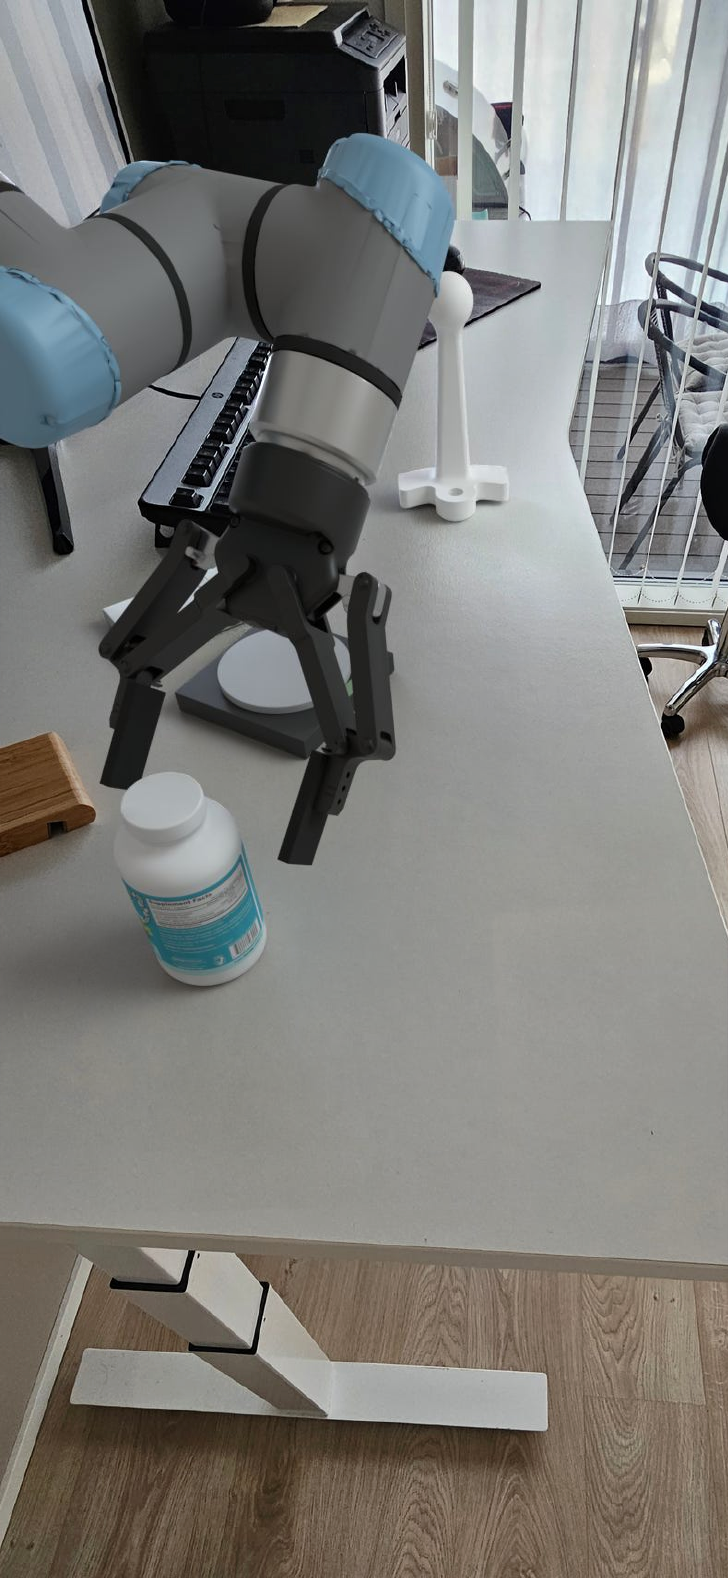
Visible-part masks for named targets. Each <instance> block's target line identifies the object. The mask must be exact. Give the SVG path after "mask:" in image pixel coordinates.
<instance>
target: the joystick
mask: <svg viewBox="0 0 728 1578" xmlns="http://www.w3.org/2000/svg"><path fill="white" fill-rule="evenodd" d="M439 284H440V292H439V294H438V297H437V298H435V299H434V301H433V304H432V307H431V310H430V313H429V316H428V319H427V320H428V321H429V322H430V323H431V325H432V326H433V328H434V330H435V333H436V376H435V377H436V380H435V382H436V384H435V385H436V386H435V388H436V389H435V450H434V451H435V453H434V454H435V456H434V466H432V467H426V468H425V467H424V468H420V469H415V470H410V471H405V472H402V473H398V475H397V479H398V480H397V481H398V493H399V494H398V496H399V505H400V507H401V508H402V509H410V508H414V507H417V506H421V505H426V504H431V505H434V506H435V512H436V514H437V515H438V516H439V517H441V519H443V520H445V521H448V522H462V521H466V520H467V519H469V518H470V517H471V516H472V515H474V514H475V512H476V510H477V505H476V504H477V503H476V502H477V501H480V500H486V501H495V502H497V501H498V502H507V501H508V500H509V499H510V478H509V474H508V470H507V467H506V466H503V465H495V464H494V465H491V464H471V462H470V461H471V460H470V447H469V445H470V444H469V432H468V430H469V429H468V414H467V413H468V412H467V400H466V383H465V367H464V353H463V352H464V351H463V331H464V327H465V325H466V323H467V322H468V320H469V319H470V317H471V315H472V313H473V308H474V295H473V291H472V288H471V285H470V284H469V282H468V281H467V280H466V278H465V277H464V276H462V275H461V274H459V273H457V272H455V271H451V270H447V271H442V275H441V279H440V283H439Z"/></svg>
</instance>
